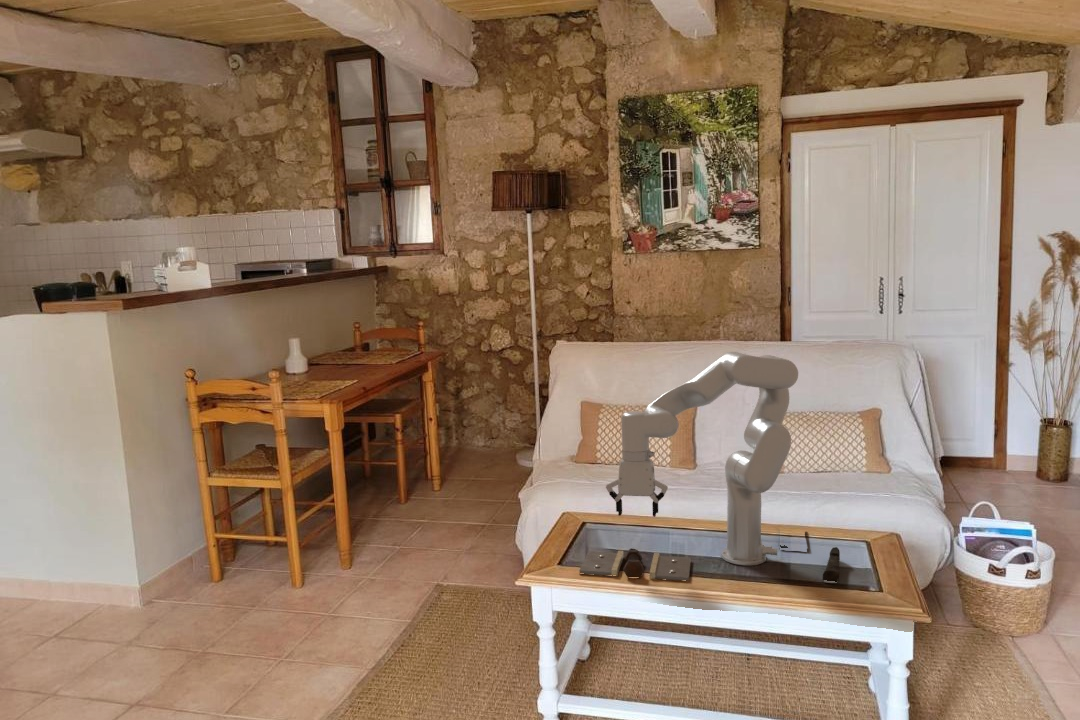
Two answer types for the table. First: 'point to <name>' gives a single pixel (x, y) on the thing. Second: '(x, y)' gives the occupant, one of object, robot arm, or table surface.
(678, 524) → the table surface
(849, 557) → the table surface
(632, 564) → the bolt
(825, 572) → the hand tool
